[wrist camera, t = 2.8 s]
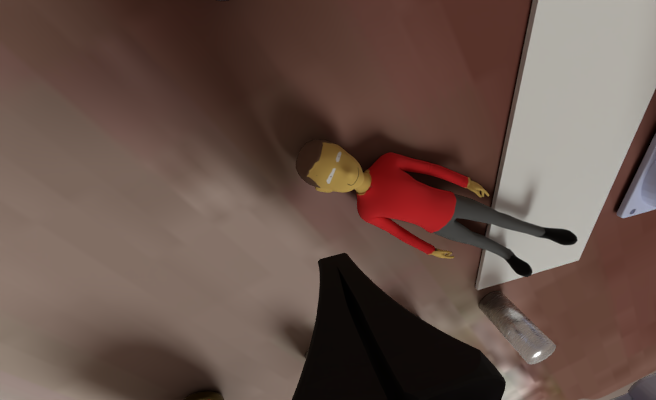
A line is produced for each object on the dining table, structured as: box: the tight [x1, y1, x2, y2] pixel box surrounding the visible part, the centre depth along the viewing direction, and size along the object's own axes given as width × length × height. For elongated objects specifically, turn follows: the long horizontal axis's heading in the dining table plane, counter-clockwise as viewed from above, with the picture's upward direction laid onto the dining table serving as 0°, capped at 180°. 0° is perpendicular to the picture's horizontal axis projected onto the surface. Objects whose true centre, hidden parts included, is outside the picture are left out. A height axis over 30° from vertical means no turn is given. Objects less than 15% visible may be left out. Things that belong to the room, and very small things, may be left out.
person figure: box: [296, 139, 577, 277], centre depth 15 cm, size 5×4×18 cm
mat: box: [475, 0, 656, 290], centre depth 18 cm, size 10×20×1 cm, turn 8°
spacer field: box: [217, 0, 556, 364], centre depth 15 cm, size 18×27×5 cm
